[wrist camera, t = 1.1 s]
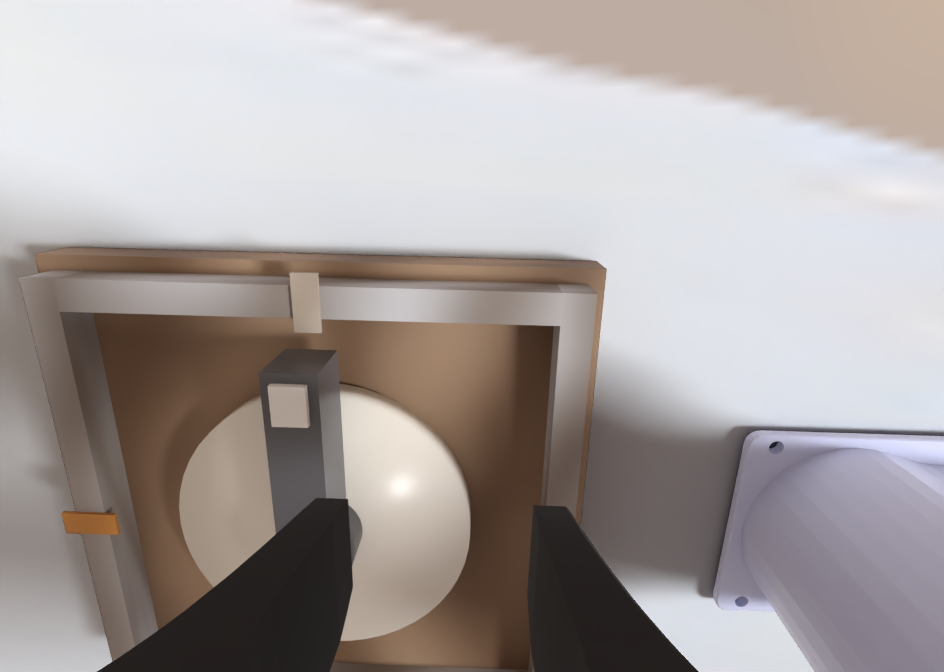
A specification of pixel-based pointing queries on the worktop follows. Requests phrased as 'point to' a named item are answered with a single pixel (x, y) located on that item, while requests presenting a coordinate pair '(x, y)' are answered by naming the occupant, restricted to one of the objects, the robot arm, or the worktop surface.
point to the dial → (332, 488)
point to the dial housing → (360, 364)
